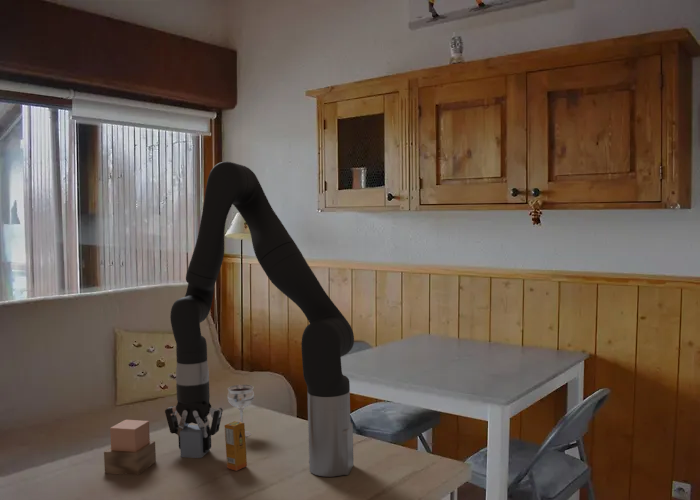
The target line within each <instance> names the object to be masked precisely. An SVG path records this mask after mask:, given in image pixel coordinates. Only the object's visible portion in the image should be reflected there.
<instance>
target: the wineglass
mask: <svg viewBox="0 0 700 500" xmlns="http://www.w3.org/2000/svg"><path fill="white" fill-rule="evenodd" d="M254 388H255V387H254V386H253V385H251V384H234V385H231V386H229V387H227V390H228V391H227V392H228V393H227V401H228V403H229V404H230V405H231V406H232V407H233V408H237V410H238V411H239V418H240V421H239V422H242V423H244V422H243V421H244V415H243V414H244V409H246V407H248V406H250V405H251V404H252V403H253V401H254V398H255V392H254V391H253V389H254ZM251 435H252V432H251V431H249V430H245V438H246V437H248V436H249V437H250V436H251Z"/></svg>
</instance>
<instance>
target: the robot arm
mask: <svg viewBox="0 0 700 500" xmlns="http://www.w3.org/2000/svg"><path fill="white" fill-rule="evenodd" d="M232 205H233V206H234V208H235V209H236V210H237V211H238V212H239V214H240V215H241V217H242V218H243V220H244V222H245V224H246V225H247V227H248V229H249V233H250V237H251V243H252V248H253V252H254V255H255V257H256V259H257V261H258V263H259V265H260V267H261V268H262V270H263V272H264V273H265V275H266V277H267V278H268V279H269V281H270V282H271V284H272V285H274V286H275V288H277V290H279V291H280V292H281V293H283V294H284V295H285V297H287V298H288V299H290V300H291V301H292V302H293V303H294V304H295V305H296V306H297V307H298V308H299V309H300V310H301V311H302V313H303V315H304V316H305V318H306V319H307V320H308V323H309V324H308V325H306V327H305V328H304V330H303V333H302V337H301V344H300V345H301V361H302V362H301V363H302V374H303V379H304V382H305V384H306V387H307V389H306V390H307V391H306V392H307V425H308V427H307V428H308V430H307V431H308V464H309V465H308V467H309V469H308V470H309V472H310V473H311V474H313V475H314V476H315V475H316V476H319V477H324V478H325V477H327V478H329V477H339V476H348V475H350V472H351V471H352V470H353V469H352V468H353V466H354V429H353V428H354V427H353V425H354V424H353V422H351V399H350V398H351V397H350V396H351V391H350V390H351V389H350V383H351V382H350V378H348V377H347V376H346V375H345V374H343V371H342V357H343V356H346V355H347V354H348V353H350V351H352V349H353V346H354V343H355V334H354V331H353V327H352V325H351V324H350V322H349V321H348V320H347V318H346V317H345V316H344V315H343V313H342V312H341V311H340V310H339V309H338V307H337V306H336V304H335V303H334V302H333V301H332V299H331V298H330V296H329V295H328V294H327V293H326V291H325V290H324V287H322V284H321V283H320V282H319V279H318V278H317V277H316V274H315V273H314V272H313V270H312V268H311V267H310V266H309V263H308V262H307V261H306V258H305V256H304V255H303V254H302V251H301V250H300V249H299V246H297V244H296V242H295V240H294V239H293V238H292V236H291V235H290V233H289V232H288V230H287V229H286V227H285V225H284V224H283V222H282V221H281V220H280V218H279V216H278V215H277V213H276V211H274V209H273V207H272V205H271V204H270V201H269V199H268V197H267V196H266V193H265V191H264V189H263V188H262V185H261V182H260V181H259V179H258V177H257V175H256V174H255V173H254V171H253V170H252V169H251V168H249V167H248V166H245V165H242V164H239V163H235V162H233V161H232V162H231V161H222V162H218V163H217V164H215V165H214V166H213V167H212V169H211V170H210V171H209V174H208V177H207V181H206V187H205V193H204V200H203V205H202V206H203V207H202V212H201V218H200V224H199V229H198V235H197V237H196V242H195V245H194V250H193V252H192V255H191V259H190V261H189V265H188V267H187V270H186V274H185V281H186V283H187V288H186V291H185V295H184V296H182V297H180V298H177V299H176V300H175V301H174V303H172V305H171V309H170V317H169V318H170V324H171V328H172V333H173V338H174V340H175V345H176V347H175V348H176V349H175V350H176V352H175V355H176V368H175V382H176V387H175V388H176V401H177V403H176V405H175V406H172V405H171V406H168V408H166V409H165V410H164V413H165V414H164V415H165V417H166V422H167V424H168V428H169V429H168V430H169V432H170V434H175V435H177V436H178V439H177V440H178V448H179V450H180V431H182V430H184V428H186V427H188V426H189V425H191V424H194V425H198V427H199V429H201V431H202V434H203V453H206V454H208V452H209V451H210V449H212V436H214V435H215V434H217V433H218V432H219V430H220V425H221V420H222V417H223V416H222V415H223V411H224V410H223V408H222V407H219V408H215V407H213V406H212V404H211V403H210V397H211V396H210V371H209V370H210V369H209V363H208V344H207V339H206V338H205V336H202V333H201V323H202V322H204V321H205V320H206V319H207V317H208V316H209V314H210V311H211V308H212V304H213V300H214V295H215V294H214V292H215V285H216V282H217V279H218V277H219V274H220V270H221V267H222V265H223V260H224V256H225V229H226V222H227V218H228V216H229V213H230V210H231V208H232V207H233V206H232ZM177 414H178V415H179V416H180V421H178V416H177ZM209 414H210V416H211V418H212V421H211V426H210V420H209V418H208V415H209Z"/></svg>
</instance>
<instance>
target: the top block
mask: <svg viewBox="0 0 700 500" xmlns="http://www.w3.org/2000/svg"><path fill="white" fill-rule="evenodd" d="M109 429H110V430H109V431H110V432H109V433H110V448H111V450H116V451H131V452H136V451H138V450H139V449H141V448H142V447H144V446H145V445H147V444H148V443H150V441H151V438H150V437H151V436H150V435H151V434H150V421H149V420H140V419H139V420H137V419H124V420H122V421H121V422H119V423H116V424H115V425H112V426H111V427H110V428H109Z"/></svg>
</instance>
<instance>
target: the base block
mask: <svg viewBox="0 0 700 500" xmlns="http://www.w3.org/2000/svg"><path fill="white" fill-rule="evenodd" d="M156 452H157V451H156V440H150V443H148V444H147V445H145V446H144V447H142V448H141V449H139V450H138V451H136V452H131V451H116V450H111V447H109V448H107V449H106V450H104V452H103V460H104V463H103V464H104V474H113V475H114V474H115V475H127V476H128V475H130V476H131V475H132V476H139V475H141V474H142V473H143V472H145V471H146V470H148V469H149V467H151V466H152V465H154V464H155V463H156V462H157V456H156V454H157V453H156Z"/></svg>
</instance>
